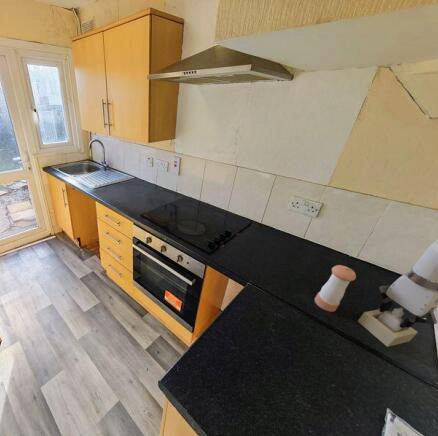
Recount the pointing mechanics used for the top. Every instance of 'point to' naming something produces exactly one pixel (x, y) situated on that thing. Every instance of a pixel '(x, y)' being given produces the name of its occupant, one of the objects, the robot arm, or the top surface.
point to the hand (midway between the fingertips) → (393, 318)
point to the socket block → (385, 329)
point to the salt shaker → (334, 288)
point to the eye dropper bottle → (392, 319)
